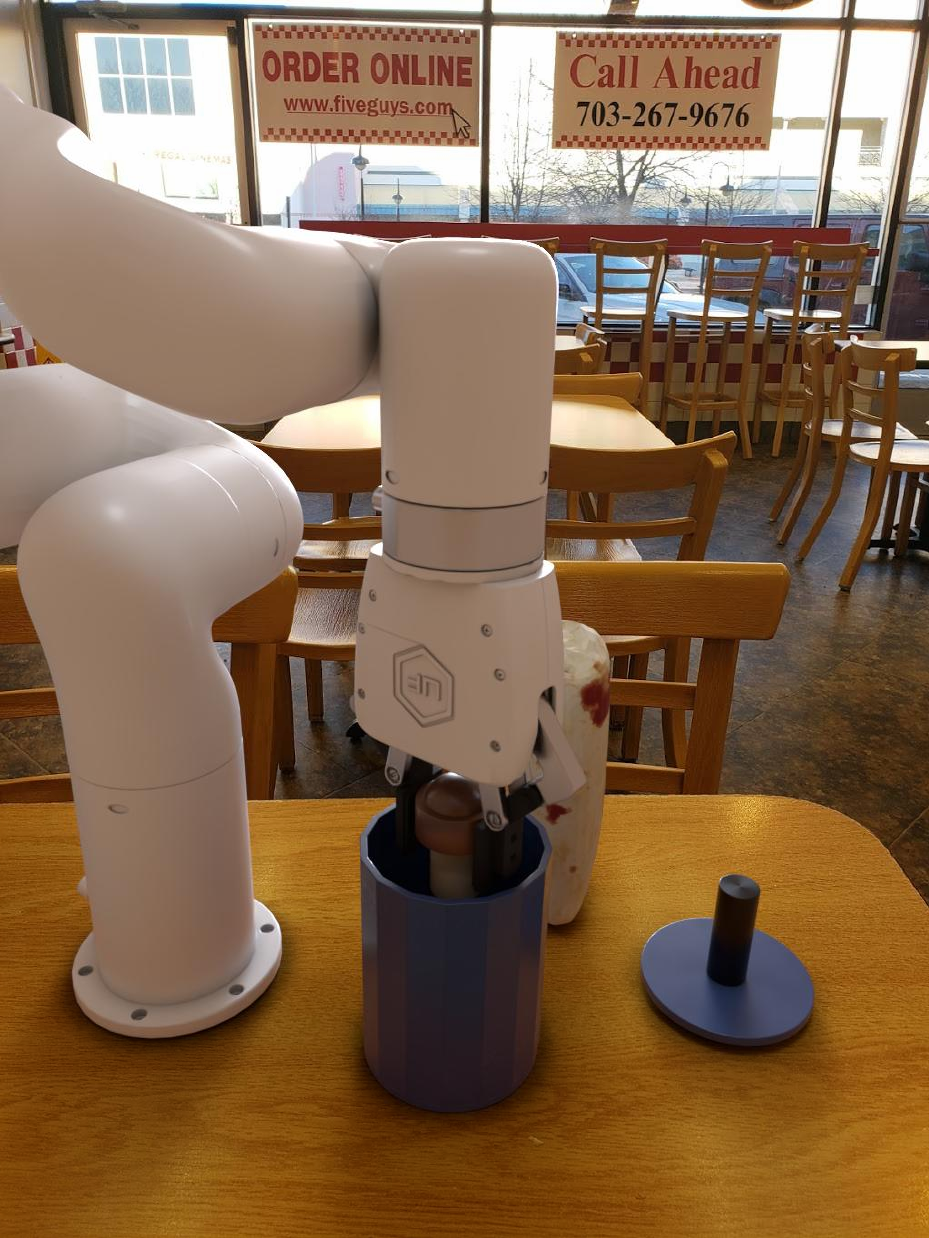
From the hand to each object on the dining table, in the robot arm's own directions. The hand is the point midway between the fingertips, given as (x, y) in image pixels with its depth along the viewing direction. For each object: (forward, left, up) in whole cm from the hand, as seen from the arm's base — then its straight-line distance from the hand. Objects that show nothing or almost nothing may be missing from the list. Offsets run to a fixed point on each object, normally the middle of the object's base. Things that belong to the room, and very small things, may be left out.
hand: (456, 857), depth 50 cm
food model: (-3, +15, -13) cm, 20 cm away
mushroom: (0, 0, -2) cm, 2 cm away
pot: (0, 0, -13) cm, 13 cm away
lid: (+10, +14, -12) cm, 21 cm away
